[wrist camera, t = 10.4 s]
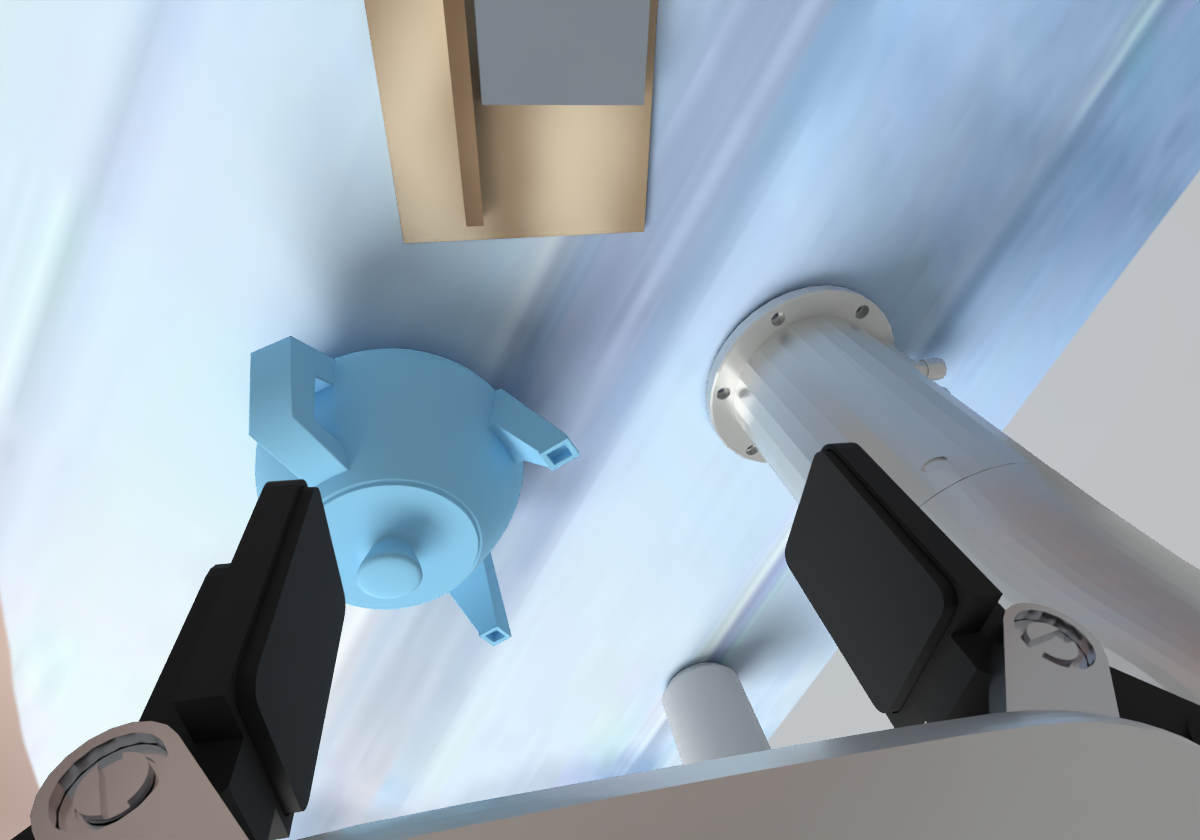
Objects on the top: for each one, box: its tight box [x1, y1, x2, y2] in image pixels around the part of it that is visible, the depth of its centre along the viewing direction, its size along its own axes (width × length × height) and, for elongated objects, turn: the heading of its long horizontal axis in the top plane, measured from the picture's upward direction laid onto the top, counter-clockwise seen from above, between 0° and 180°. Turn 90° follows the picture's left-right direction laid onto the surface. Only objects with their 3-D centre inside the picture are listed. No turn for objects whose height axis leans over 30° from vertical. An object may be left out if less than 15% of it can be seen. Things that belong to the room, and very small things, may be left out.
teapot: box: [249, 336, 580, 646], centre depth 31 cm, size 15×15×11 cm
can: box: [662, 662, 771, 765], centre depth 52 cm, size 8×8×12 cm
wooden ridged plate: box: [364, 0, 658, 243], centre depth 26 cm, size 12×14×2 cm
